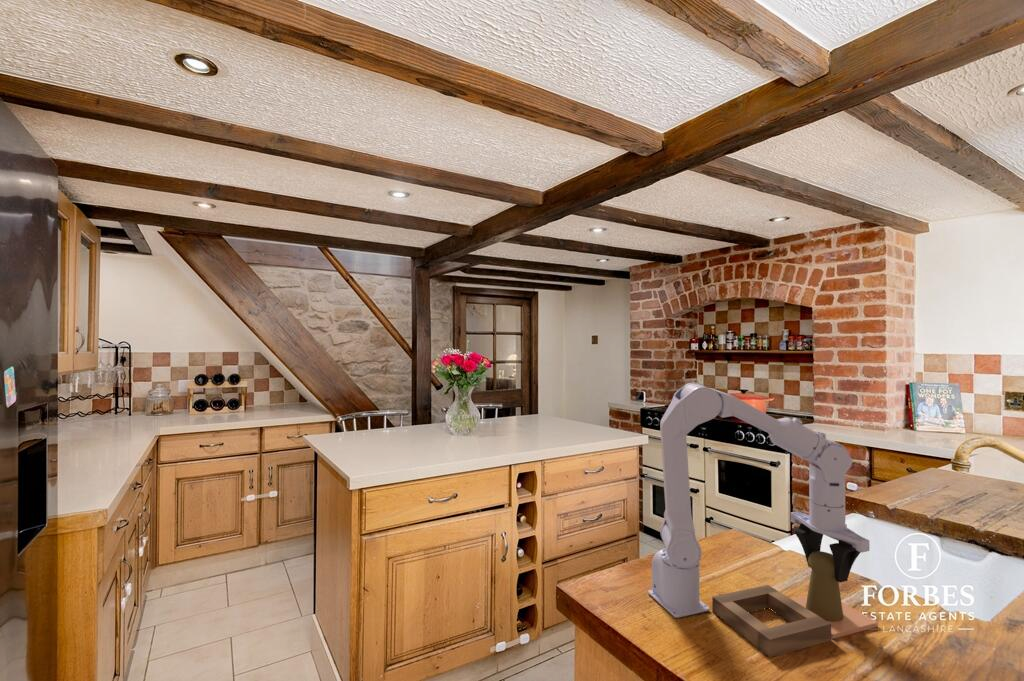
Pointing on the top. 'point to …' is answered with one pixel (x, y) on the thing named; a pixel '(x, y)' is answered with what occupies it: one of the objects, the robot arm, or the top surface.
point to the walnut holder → (774, 640)
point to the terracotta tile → (845, 620)
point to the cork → (824, 588)
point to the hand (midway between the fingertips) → (827, 573)
